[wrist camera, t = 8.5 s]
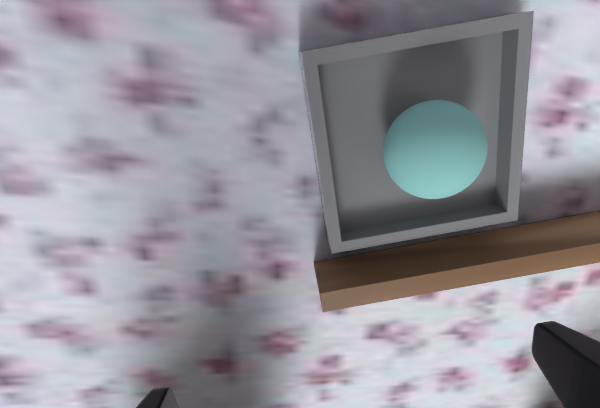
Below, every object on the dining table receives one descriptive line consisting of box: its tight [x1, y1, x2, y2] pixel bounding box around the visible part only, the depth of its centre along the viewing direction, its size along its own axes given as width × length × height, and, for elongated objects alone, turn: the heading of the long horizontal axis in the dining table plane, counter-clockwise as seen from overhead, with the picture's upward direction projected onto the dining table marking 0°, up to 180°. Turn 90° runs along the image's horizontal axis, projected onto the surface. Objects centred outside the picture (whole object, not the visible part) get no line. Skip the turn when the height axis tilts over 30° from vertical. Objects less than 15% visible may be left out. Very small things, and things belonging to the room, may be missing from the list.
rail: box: [314, 211, 600, 312], centre depth 21 cm, size 1×19×3 cm, turn 99°
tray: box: [299, 11, 534, 254], centre depth 18 cm, size 10×10×2 cm
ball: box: [383, 100, 488, 199], centre depth 17 cm, size 4×4×4 cm
